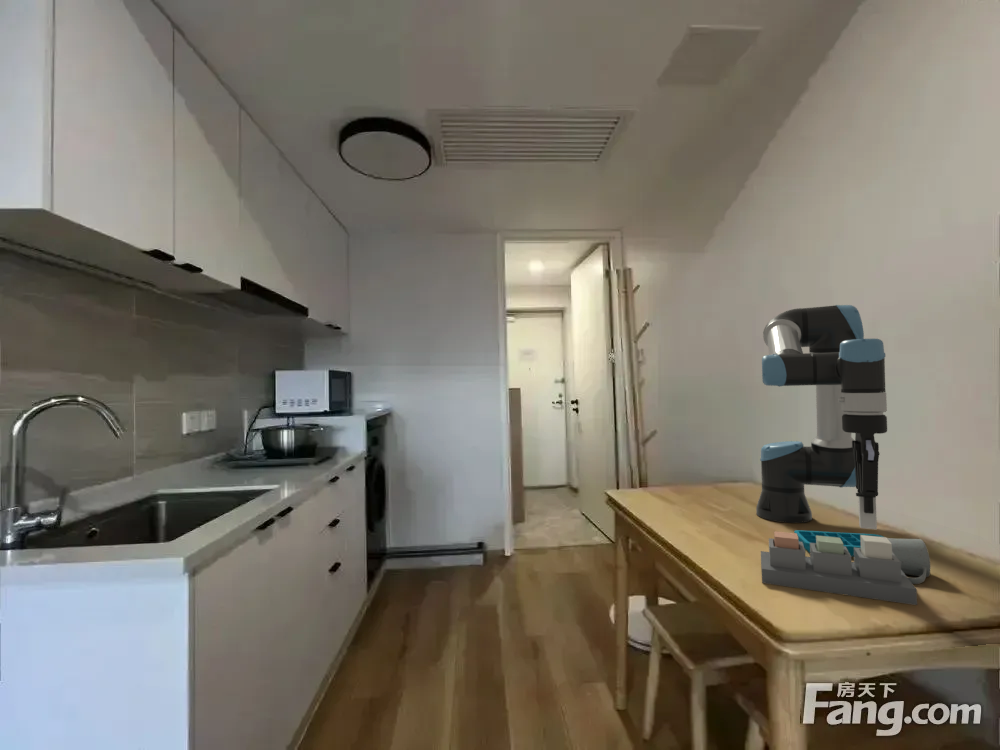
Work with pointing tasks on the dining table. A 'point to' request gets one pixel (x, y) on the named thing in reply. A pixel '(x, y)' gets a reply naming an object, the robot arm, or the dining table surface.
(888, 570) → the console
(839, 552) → the sage key
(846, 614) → the dining table surface
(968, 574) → the dining table surface
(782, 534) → the terracotta key
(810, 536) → the ice cube tray
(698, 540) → the dining table surface
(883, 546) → the ivory key
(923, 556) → the ceramic mug
